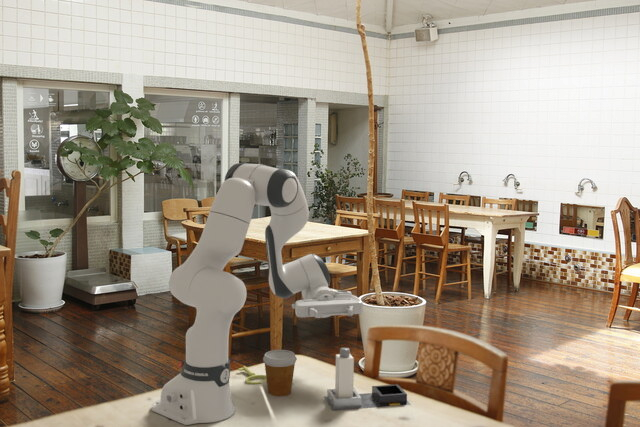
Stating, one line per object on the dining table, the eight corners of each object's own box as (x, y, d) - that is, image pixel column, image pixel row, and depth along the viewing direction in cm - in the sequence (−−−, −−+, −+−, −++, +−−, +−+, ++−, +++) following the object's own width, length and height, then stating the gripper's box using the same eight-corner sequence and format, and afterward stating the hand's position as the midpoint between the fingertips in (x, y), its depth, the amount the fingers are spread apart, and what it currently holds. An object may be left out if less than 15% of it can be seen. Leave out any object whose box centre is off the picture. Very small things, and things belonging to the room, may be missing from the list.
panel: (332, 414, 184) (332, 401, 184) (323, 400, 194) (323, 388, 193) (410, 407, 189) (410, 395, 189) (398, 394, 199) (398, 382, 198)
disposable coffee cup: (264, 388, 202) (265, 348, 200) (297, 389, 201) (297, 349, 200) (260, 401, 192) (260, 359, 191) (294, 402, 192) (295, 360, 190)
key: (244, 371, 217) (244, 365, 217) (271, 381, 209) (271, 374, 209) (226, 377, 212) (226, 370, 211) (254, 388, 203) (254, 381, 203)
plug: (338, 405, 187) (339, 351, 186) (335, 400, 191) (335, 347, 189) (352, 404, 188) (354, 351, 186) (349, 398, 192) (350, 346, 190)
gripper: (290, 294, 210) (299, 305, 196) (355, 290, 214) (368, 301, 201) (290, 314, 210) (299, 327, 197) (354, 310, 215) (368, 322, 202)
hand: (334, 314), depth 199 cm, fingers open, 8 cm apart
